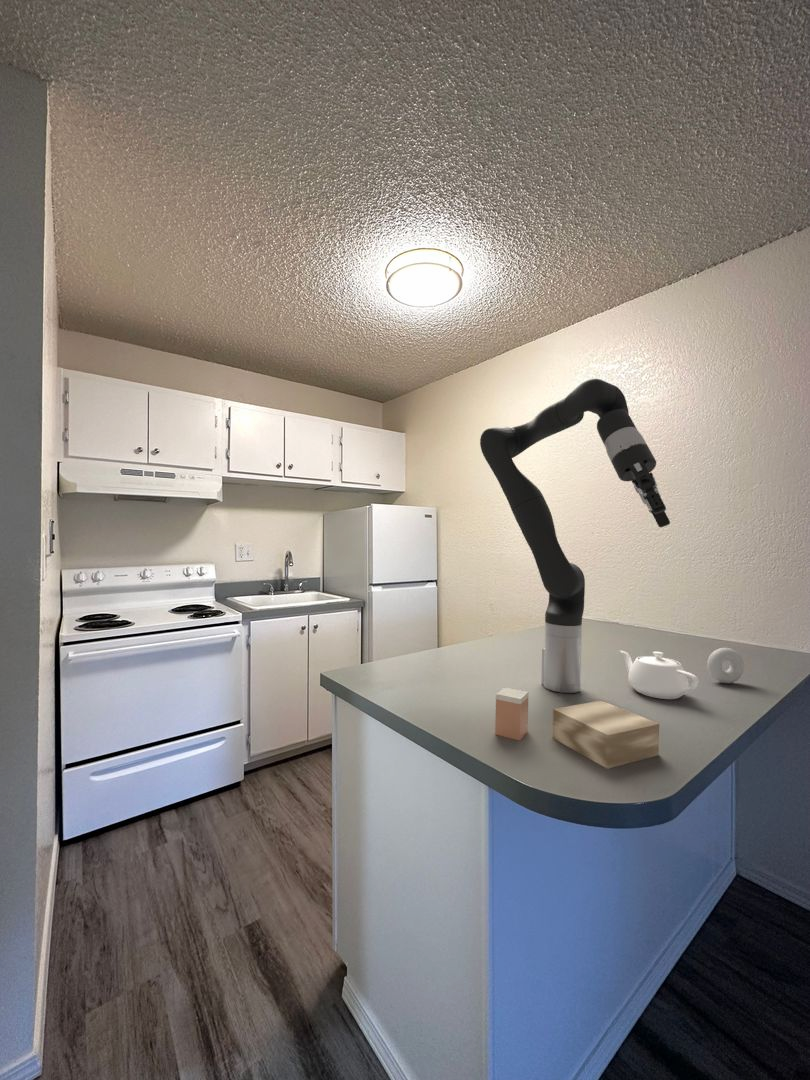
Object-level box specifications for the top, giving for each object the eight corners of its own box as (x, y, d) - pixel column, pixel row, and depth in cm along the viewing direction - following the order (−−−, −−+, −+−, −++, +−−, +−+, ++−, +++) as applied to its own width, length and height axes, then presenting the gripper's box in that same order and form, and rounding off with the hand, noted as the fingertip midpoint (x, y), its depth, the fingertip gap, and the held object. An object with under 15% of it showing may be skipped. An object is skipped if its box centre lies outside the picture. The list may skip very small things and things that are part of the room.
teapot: (715, 703, 110) (715, 659, 110) (677, 711, 105) (678, 664, 105) (636, 678, 130) (637, 640, 130) (601, 683, 125) (602, 644, 125)
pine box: (552, 739, 88) (553, 708, 88) (600, 729, 94) (601, 700, 94) (607, 770, 77) (607, 735, 77) (658, 756, 82) (659, 723, 82)
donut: (738, 681, 129) (738, 646, 129) (747, 685, 126) (748, 649, 126) (703, 681, 129) (704, 646, 129) (712, 684, 125) (713, 649, 125)
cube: (495, 734, 90) (496, 694, 90) (503, 725, 94) (504, 687, 94) (519, 740, 87) (520, 699, 87) (527, 731, 91) (528, 692, 91)
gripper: (617, 475, 103) (647, 537, 96) (604, 447, 92) (637, 515, 85) (651, 459, 100) (685, 522, 93) (642, 429, 89) (680, 497, 81)
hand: (662, 518), depth 89 cm, fingers open, 8 cm apart
